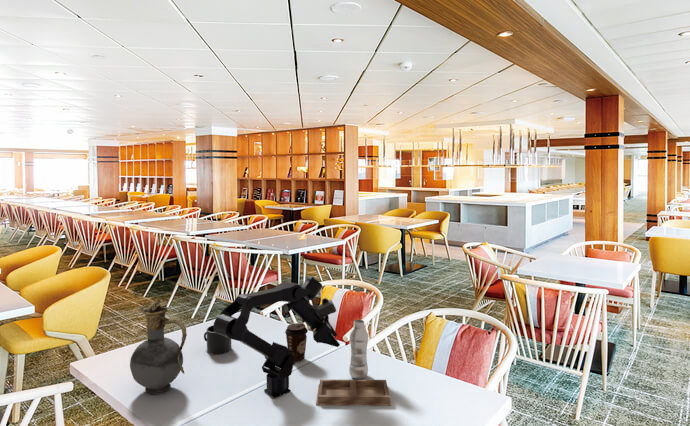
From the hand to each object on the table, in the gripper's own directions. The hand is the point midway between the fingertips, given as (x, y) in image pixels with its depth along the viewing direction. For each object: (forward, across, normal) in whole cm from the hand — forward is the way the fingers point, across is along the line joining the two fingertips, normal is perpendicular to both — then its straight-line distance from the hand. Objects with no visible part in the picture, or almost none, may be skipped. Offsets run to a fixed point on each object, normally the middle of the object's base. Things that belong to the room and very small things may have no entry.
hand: (337, 340), depth 147 cm
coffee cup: (0, +17, +20) cm, 26 cm away
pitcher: (-31, -1, +51) cm, 60 cm away
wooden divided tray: (+12, -12, +7) cm, 19 cm away
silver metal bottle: (+15, 0, +4) cm, 16 cm away
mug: (-23, +30, +42) cm, 57 cm away
